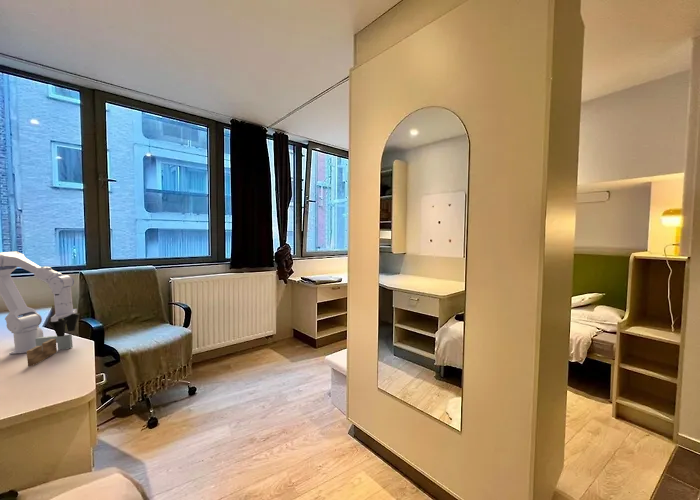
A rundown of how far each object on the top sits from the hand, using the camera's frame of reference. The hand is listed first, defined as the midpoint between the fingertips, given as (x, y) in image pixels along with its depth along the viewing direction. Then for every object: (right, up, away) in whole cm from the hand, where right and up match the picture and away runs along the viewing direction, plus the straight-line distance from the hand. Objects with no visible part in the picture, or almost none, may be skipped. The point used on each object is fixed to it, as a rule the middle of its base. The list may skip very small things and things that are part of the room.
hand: (66, 333), depth 134 cm
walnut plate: (+1, -7, -11) cm, 13 cm away
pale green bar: (-4, -7, -1) cm, 8 cm away
